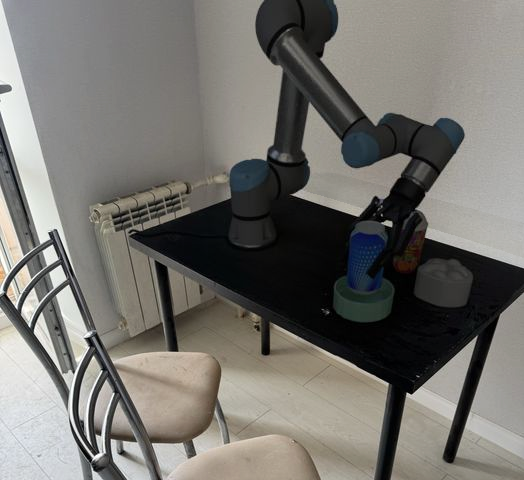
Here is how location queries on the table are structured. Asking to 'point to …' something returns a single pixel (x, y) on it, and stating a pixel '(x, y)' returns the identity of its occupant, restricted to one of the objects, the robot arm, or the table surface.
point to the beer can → (365, 256)
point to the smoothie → (412, 248)
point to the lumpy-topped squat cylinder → (443, 283)
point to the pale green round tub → (363, 302)
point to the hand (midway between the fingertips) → (355, 268)
